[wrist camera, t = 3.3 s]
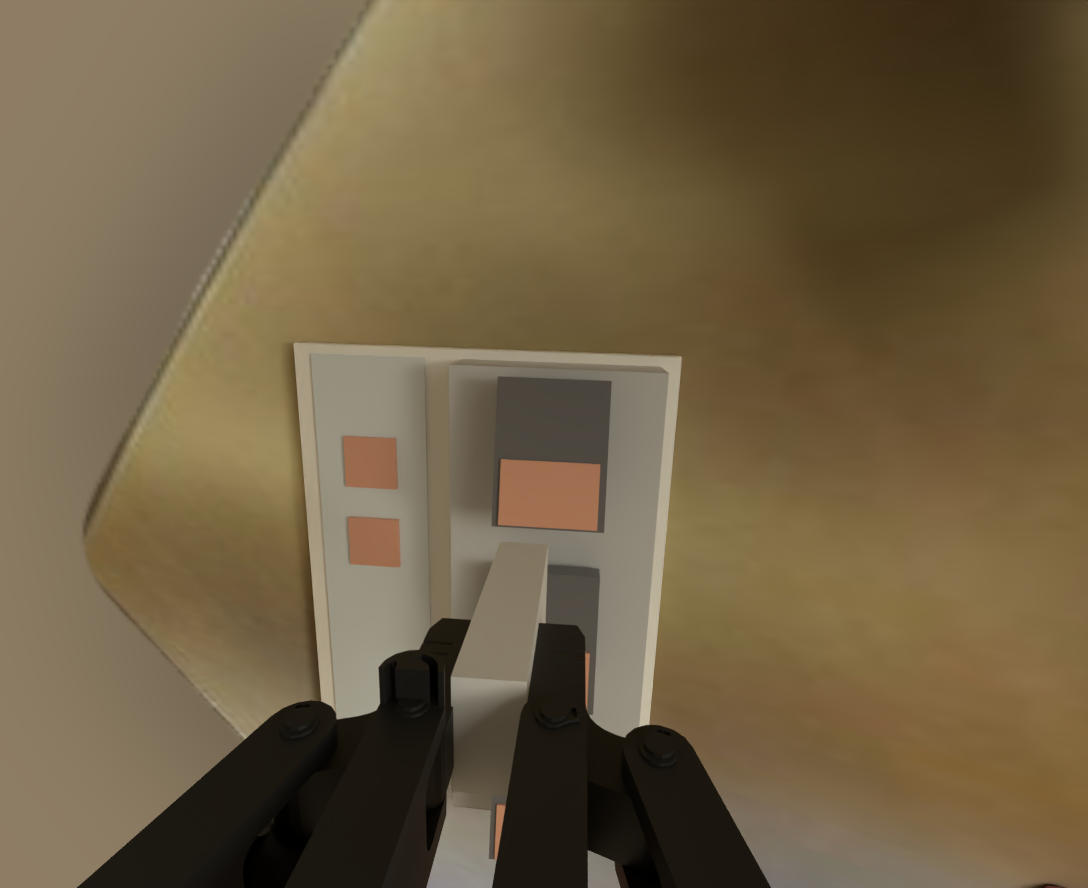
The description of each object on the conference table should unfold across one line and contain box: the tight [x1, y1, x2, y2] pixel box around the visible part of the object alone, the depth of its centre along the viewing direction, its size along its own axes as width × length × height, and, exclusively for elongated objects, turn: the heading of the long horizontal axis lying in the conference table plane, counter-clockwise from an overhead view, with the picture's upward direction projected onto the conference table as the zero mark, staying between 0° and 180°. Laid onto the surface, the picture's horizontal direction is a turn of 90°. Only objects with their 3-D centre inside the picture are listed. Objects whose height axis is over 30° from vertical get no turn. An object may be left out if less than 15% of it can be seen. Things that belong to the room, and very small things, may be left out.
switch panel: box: [293, 342, 682, 810], centre depth 30 cm, size 26×20×4 cm
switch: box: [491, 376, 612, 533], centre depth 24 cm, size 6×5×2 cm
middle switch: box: [546, 565, 600, 715], centre depth 26 cm, size 6×5×2 cm
